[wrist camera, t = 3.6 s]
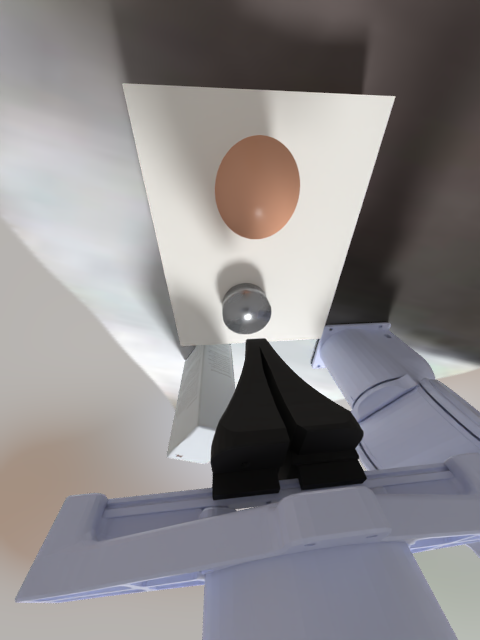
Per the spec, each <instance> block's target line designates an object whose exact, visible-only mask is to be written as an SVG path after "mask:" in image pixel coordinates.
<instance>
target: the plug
mask: <svg viewBox="0 0 480 640" xmlns="http://www.w3.org/2000/svg"><path fill="white" fill-rule="evenodd" d="M271 313H272V311H271V306H270V304H269V301H268V299H267V297H266V295H265V293H264V291H263V290H262V289H261V288H260V287H258V286H257V285H254V284H251V283H241V284H238V285H235V286H233V287H232V288H230V289H229V290H228V291H227V292H226V294H225V295H224V298H223V301H222V315H223V321H224V323H225V325H226V326H227V327H228V328H229V329H230V330H231V331H233V332H235V333H238V334H252V333H256V332H258V331H260V330H261V329H263V328H264V327H265V326H266V325H267V324H268V322H269V320H270V318H271Z"/></svg>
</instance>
